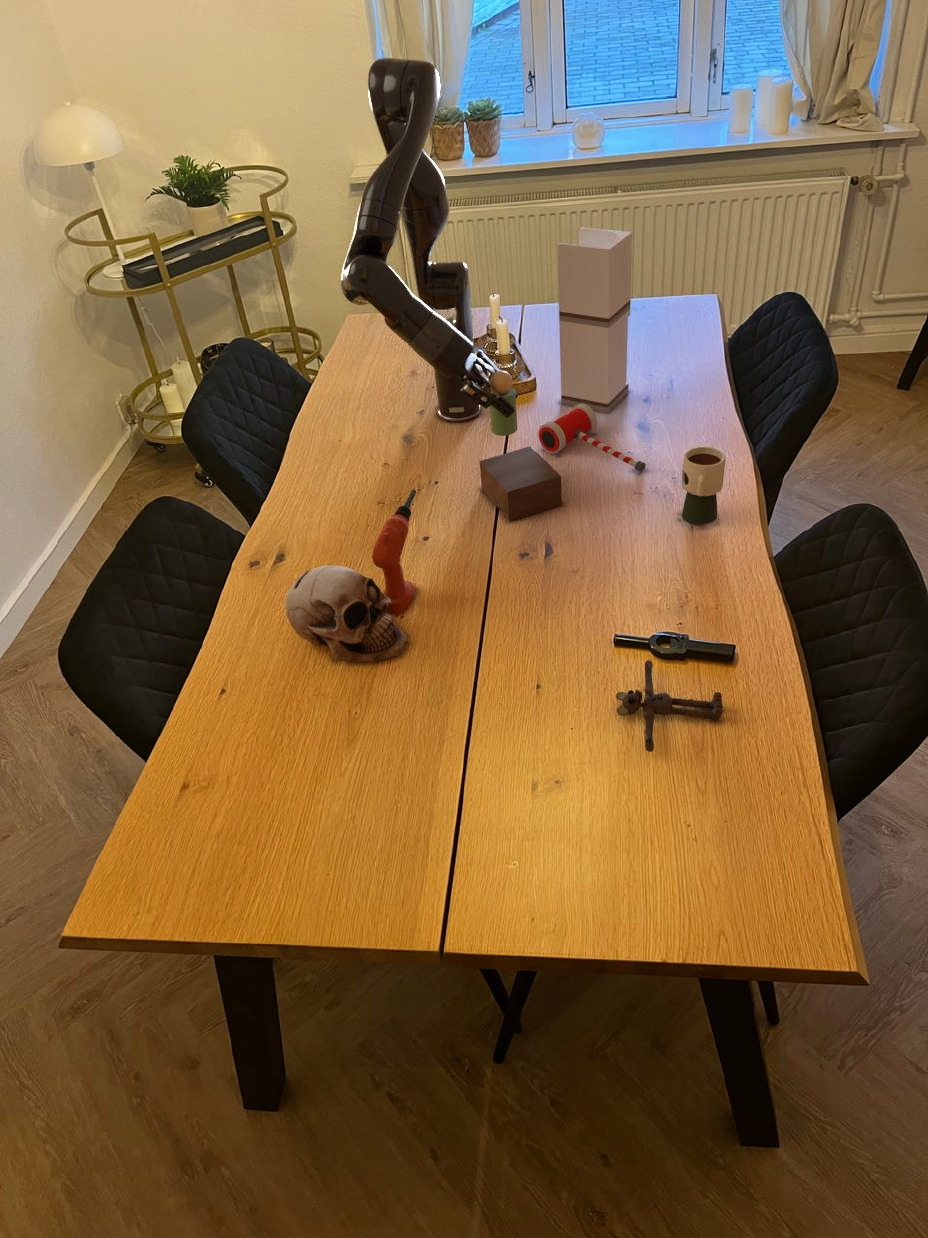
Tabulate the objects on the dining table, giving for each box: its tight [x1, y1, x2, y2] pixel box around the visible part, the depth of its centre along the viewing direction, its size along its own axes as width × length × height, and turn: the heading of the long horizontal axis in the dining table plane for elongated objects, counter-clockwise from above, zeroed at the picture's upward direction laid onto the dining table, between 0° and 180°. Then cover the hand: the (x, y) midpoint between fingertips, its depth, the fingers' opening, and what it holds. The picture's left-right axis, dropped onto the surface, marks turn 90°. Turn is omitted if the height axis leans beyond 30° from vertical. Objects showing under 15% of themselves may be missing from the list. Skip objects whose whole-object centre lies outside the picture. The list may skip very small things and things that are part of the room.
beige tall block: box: [556, 226, 633, 414], centre depth 197 cm, size 11×11×35 cm
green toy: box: [488, 370, 518, 437], centre depth 165 cm, size 5×5×11 cm
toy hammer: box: [537, 404, 646, 473], centre depth 187 cm, size 23×12×6 cm, turn 44°
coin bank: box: [285, 564, 408, 663], centre depth 148 cm, size 16×17×13 cm
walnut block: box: [479, 445, 563, 522], centre depth 177 cm, size 13×11×6 cm
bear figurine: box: [615, 659, 724, 753], centre depth 131 cm, size 18×4×14 cm
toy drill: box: [371, 489, 417, 614], centre depth 156 cm, size 5×19×15 cm, turn 163°
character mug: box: [681, 445, 727, 525], centre depth 164 cm, size 11×7×13 cm, turn 164°
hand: (513, 406), depth 165 cm, fingers closed on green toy, 4 cm apart
